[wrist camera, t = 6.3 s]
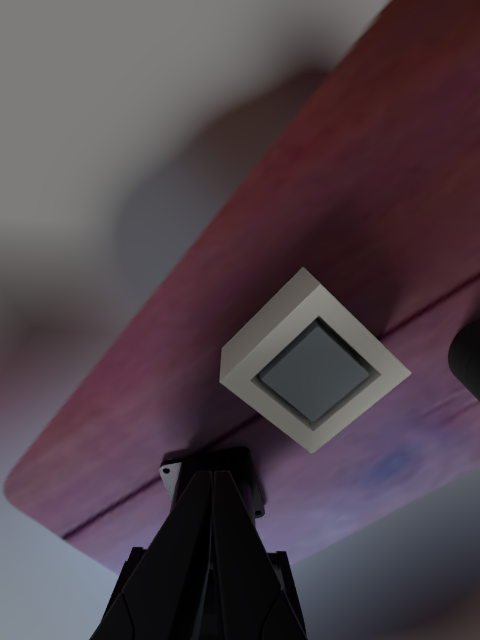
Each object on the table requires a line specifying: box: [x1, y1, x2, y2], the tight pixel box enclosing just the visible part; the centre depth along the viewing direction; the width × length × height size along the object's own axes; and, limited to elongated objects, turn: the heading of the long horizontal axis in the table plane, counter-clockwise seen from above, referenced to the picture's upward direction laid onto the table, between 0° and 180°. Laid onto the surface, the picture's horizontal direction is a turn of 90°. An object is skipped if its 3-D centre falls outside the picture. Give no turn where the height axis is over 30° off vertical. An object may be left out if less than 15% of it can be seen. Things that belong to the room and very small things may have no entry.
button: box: [260, 318, 370, 422], centre depth 19 cm, size 4×4×3 cm
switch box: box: [219, 267, 412, 454], centre depth 19 cm, size 7×7×4 cm
